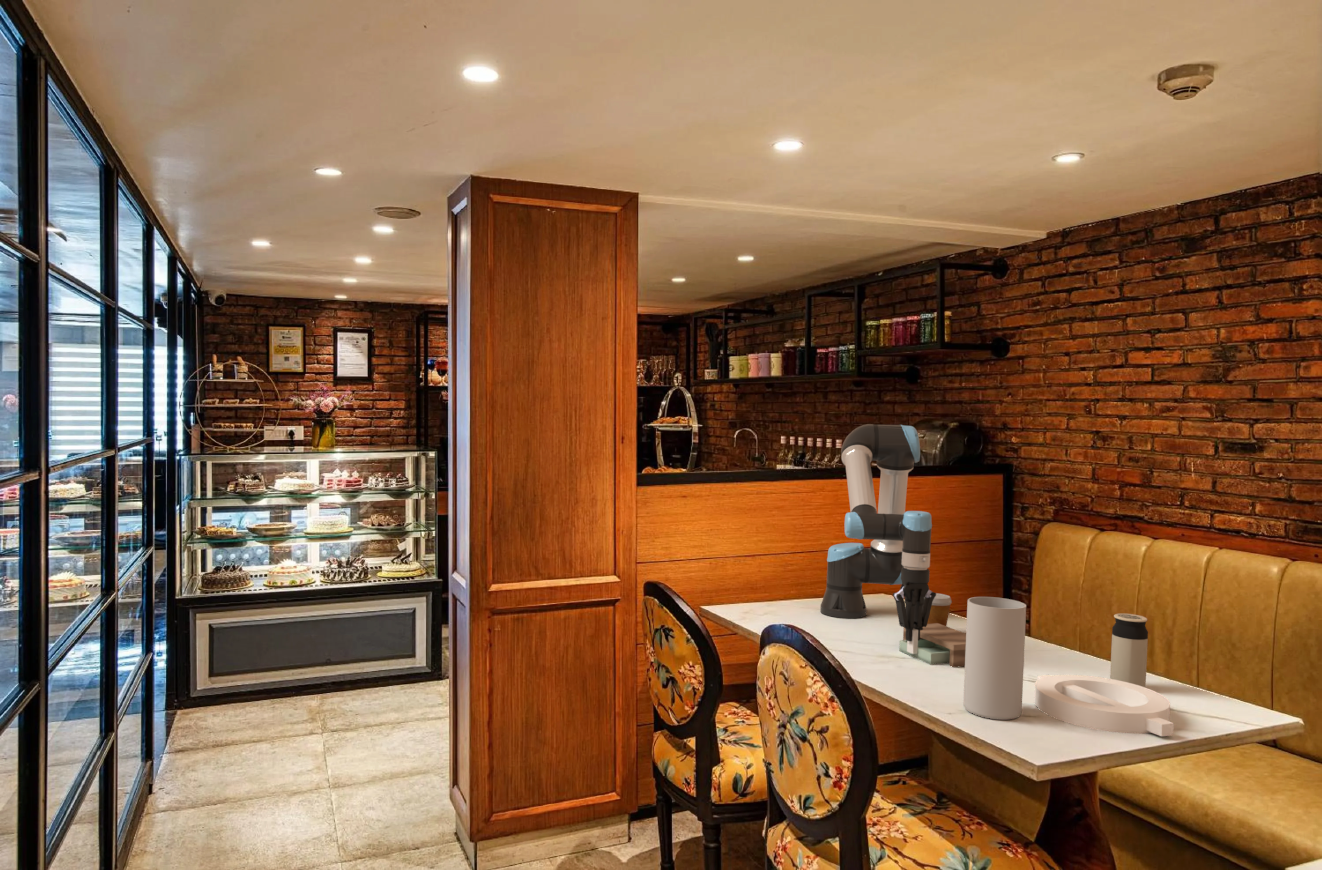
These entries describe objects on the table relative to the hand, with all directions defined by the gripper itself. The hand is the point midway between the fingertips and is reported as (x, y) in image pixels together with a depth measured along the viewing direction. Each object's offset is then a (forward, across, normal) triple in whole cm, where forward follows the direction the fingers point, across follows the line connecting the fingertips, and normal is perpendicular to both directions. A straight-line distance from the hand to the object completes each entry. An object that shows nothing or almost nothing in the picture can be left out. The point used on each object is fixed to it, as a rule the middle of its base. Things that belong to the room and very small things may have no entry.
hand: (912, 652), depth 250 cm
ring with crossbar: (+2, +15, -50) cm, 52 cm away
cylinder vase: (+2, -10, -43) cm, 44 cm away
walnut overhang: (+1, +11, 0) cm, 11 cm away
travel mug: (+2, +37, -38) cm, 53 cm away
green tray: (+1, +7, 0) cm, 7 cm away
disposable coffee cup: (+2, +23, +20) cm, 31 cm away
